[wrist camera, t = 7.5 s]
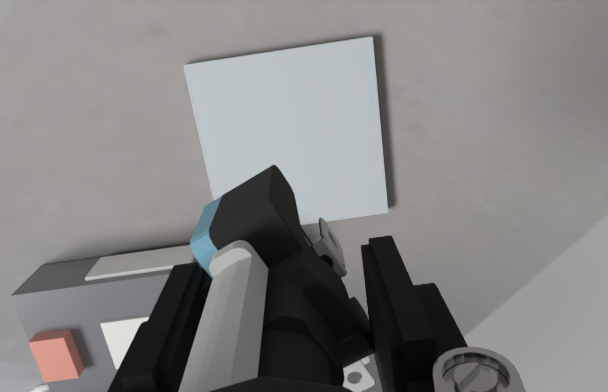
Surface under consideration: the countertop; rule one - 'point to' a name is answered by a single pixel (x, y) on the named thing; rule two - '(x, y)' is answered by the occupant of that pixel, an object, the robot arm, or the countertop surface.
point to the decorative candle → (41, 388)
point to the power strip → (91, 313)
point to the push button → (273, 299)
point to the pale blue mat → (296, 125)
